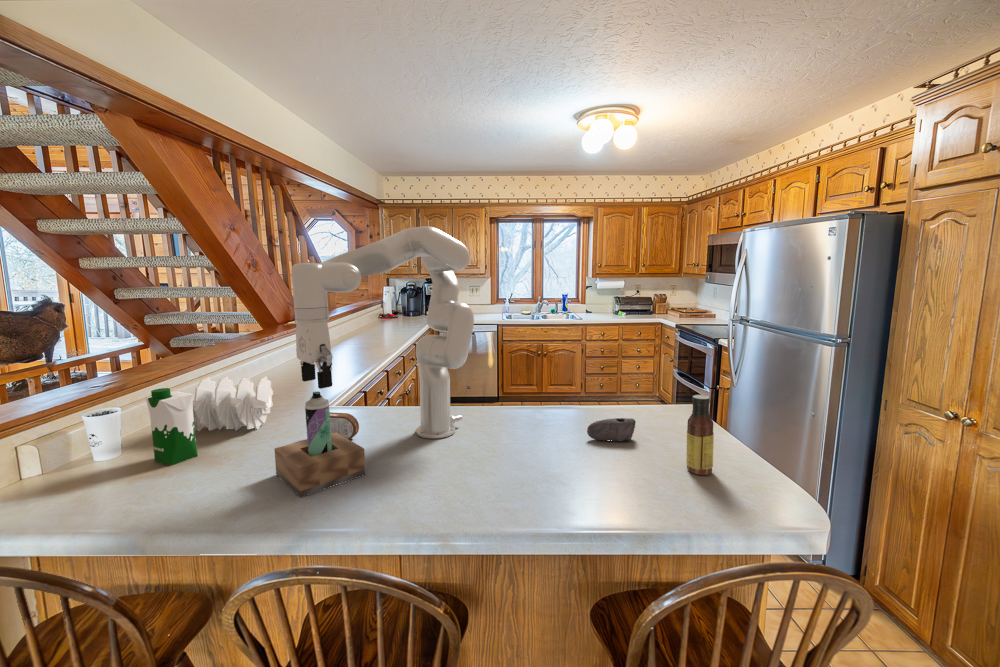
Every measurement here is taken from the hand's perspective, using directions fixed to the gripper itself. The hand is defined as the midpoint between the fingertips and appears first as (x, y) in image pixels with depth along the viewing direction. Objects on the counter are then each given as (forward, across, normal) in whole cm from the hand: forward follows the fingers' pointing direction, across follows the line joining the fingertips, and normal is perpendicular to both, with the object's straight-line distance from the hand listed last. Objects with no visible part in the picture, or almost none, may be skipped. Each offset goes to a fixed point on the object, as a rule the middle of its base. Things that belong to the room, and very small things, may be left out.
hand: (316, 383), depth 107 cm
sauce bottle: (+25, +67, +69) cm, 100 cm away
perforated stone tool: (+25, +40, +72) cm, 86 cm away
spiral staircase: (+24, -54, -8) cm, 59 cm away
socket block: (+24, 0, -1) cm, 24 cm away
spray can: (+22, 0, 0) cm, 22 cm away
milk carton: (+24, -38, -25) cm, 51 cm away
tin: (+24, -21, +12) cm, 34 cm away
